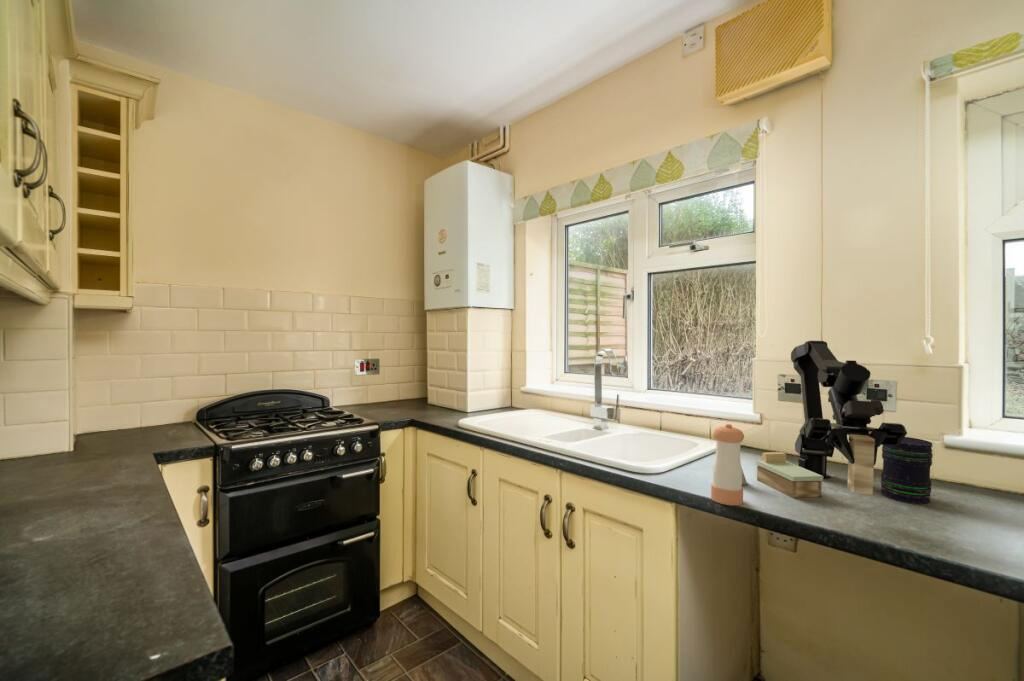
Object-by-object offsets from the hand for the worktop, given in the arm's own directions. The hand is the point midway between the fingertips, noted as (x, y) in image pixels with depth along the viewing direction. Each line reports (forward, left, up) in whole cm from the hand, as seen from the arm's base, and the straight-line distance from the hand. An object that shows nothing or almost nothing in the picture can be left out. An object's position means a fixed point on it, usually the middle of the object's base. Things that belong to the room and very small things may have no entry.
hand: (863, 463), depth 102 cm
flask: (+14, -27, -13) cm, 33 cm away
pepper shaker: (+24, -14, -13) cm, 31 cm away
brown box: (-1, -1, -7) cm, 7 cm away
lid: (+2, -21, -9) cm, 23 cm away
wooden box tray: (+2, -21, -13) cm, 25 cm away
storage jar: (-24, -12, -13) cm, 30 cm away
